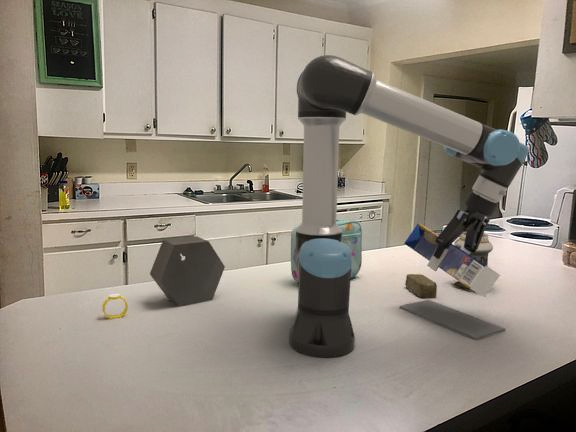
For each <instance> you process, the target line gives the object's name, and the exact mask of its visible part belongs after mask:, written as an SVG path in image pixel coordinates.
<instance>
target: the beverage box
mask: <svg viewBox="0 0 576 432" xmlns="http://www.w3.org/2000/svg"><path fill="white" fill-rule="evenodd" d="M415 225H416V226H415V227H414V228H413V230H412V231H411V232H410V234H409V236H408V237H407V239H405V241H404V242H403V243H404V245H406V246H407V247H409V248H410V249H411V250H413V251H414V252H416V253H417V254H419V255H420V256H421V257H423V258H425V259H426V260H427V261H428V262H429V261H430V259H431V257H432V256H433V254H434V252H435V250H436V249H437V247H438V245H439V244H437V243H436V238H437V237H438V236H439V235H440V234H437V233H436V232H434V231H432V230H431V229H430V228H427V227H426V226H424V225H423V224H421V223H420V222H418V223H416V224H415ZM447 249H448V252H447V254H446V255H445V257H444V259H443V260H442V262H441V263H440V265H439V266H438V267H439V268H438V269H441V270H442V271H443V272H445V273H446V274H448V275H449V276H451V277H452V278H453V279H455V280H456V281H459V282H461V283H462V284H464V285H465V286H467V287H468V288H470V289H471V290H473V291H472V292H474V291H475V292H474V293H477V294H479V295H480V296H481V295H482V296H483V297H486V296H487V295H488V293H489V292H490V290H491V289H492V288H493V286H494V285H495V283H496V282H497V280H498V279H499V278H500V277H501V274H500V273H498V272H497V271H495V270H494V269H492V268H491V267H489V265H488V266H486V265H485V264H483V263H482V262H480V261H478V260H477V259H475V258H474V257H472V256H470V255H469V254H467V253H466V252H464V251H462V250H461V249H459V248H458V247H456V246H455V245H454V244H453V243H452V244H451V245H450V246H449V247H448V248H447Z"/></svg>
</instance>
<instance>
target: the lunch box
mask: <svg viewBox="0 0 576 432" xmlns="http://www.w3.org/2000/svg"><path fill="white" fill-rule="evenodd" d="M336 223H337V225H338V226H339V227H340V228H341V229H342V242H343V243H345V244H346V245H348V246H349V248H350V249H351V253H352V267H351V279H353V278H355V277H356V276H357V275H358V274H359V272H360V270H361V267H362V262H363V261H362V259H363V257H362V253H363V252H362V249H363V248H362V246H363V245H362V238H363V234H362V233H363V230H362V225H361V224H360V222H358V221H356V220H354V219H353V220H345V219H339V218H336ZM299 225H301V223H298V224H296V225H294V227H293V229H292V230H291V234H290V237H291V238H290V271H291V276H292V278H293V280H294V281H295V282H297V283H299V275H298V271H297V267H296V265H295V262H294V250H295V246H296V228H297V227H298V226H299Z"/></svg>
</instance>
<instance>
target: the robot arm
mask: <svg viewBox="0 0 576 432" xmlns="http://www.w3.org/2000/svg"><path fill="white" fill-rule="evenodd" d="M296 83H297V84H296V96H297V119H298V120H299V122H300V123H301V124H302V125H303V155H302V156H303V159H302V161H303V163H302V164H303V165H302V167H303V169H302V205H301V206H302V210H301V211H302V212H301V213H302V214H301V216H302V217H301V223H300V224H301V225H299V226H298V227H297V228H296V246H295V250H294V262H295V265H296V267H297V271H298V275H299V282H298V289H297V290H298V295H297V310H296V314H295V315H294V319H293V322H292V325H291V327H290V329H289V333H288V344H289V345H290V347H291V348H292V349H293V350H295V351H297V352H298V353H300V354H301V353H302V354H304V355H308V356H312V357H317V358H318V357H319V358H331V357H333V358H334V357H340V356H344V355H346V354H349V353H351V352H352V351H353V350H354V349H355V341H356V339H355V338H356V336H355V332H354V328H353V325H352V324H353V323H352V320H351V317H350V313H349V312H350V310H349V309H350V293H351V280H352V278H351V267H352V253H351V249H350V248H349V246H348V245H346V244H345V243H343V242H342V229H341V228H340V227H339V226H338V225H337V223H336V219H337V212H338V206H337V205H338V183H339V182H338V180H339V179H338V177H339V149H340V147H339V146H340V144H339V143H340V126H341V125H342V124H343V123H345V121H346V120H347V113H348V114H351V115H353V116H358V115H361V114H363V115H365V116H368V117H371V118H372V119H375V120H378V121H380V122H383V123H385V124H388V125H391V126H393V127H396V128H398V129H400V130H403V131H405V132H408V133H411V134H413V135H415V136H418V137H421V138H423V139H425V140H428V141H431V142H432V143H435V144H438V145H439V146H440V145H441V146H442V147H443V152H445V154H447V155H449V156H451V157H453V158H455V159H458V160H460V161H462V162H465V163H468V164H470V165H472V166H475V167H477V168H479V169H481V172H480V173H479V175H478V177H477V178H476V180H475V182H474V184H473V186H472V187H471V189H472V191H470V192H469V193H468V195H467V197H466V199H465V200H464V202H463V203H464V205H465V206H466V209H465V210H464V211H463V210H460V209H457V211H456V212H455V214H454V216H453V217H452V218H451V220H450V221H449V222H448V223H447V225H446V226H445V227H444V228H443V230H442V231H441V232H440V233H439V234H438V235H439V236H438V237H437V238H436V243H437V244H439V245H438V247H437V249H436V250H435V252H434V254H433V256H432V257H431V259H430V261H429V260H428V263H427V265H426V266H427V267H428V268H430V270H432V271H434V272H437V271H438V269H440V268H439V267H438V266H439V265H440V263H441V262H442V260H443V259H444V257H445V255H446V254H447V252H448V249H447V248H448V247H449V246H450V245H451V244H453V243H455V241H456V240H457V239H459V237H460V235H461V234H462V233H463V232H466V238H465V243H464V248H463V247H461V248H460V249H461V250H462V251H464V252H466V253H467V254H470V253H471V252H472V253H475V252H476V250H477V249H478V247H479V244H480V241H481V239H482V236H483V234H484V233H485V231H486V228H487V226H488V224H489V222H490V218H489V217H492V216H493V215H494V213H495V212H496V209H497V208H498V207H499V205H498V203H499V202H501V201H502V200H503V197H504V196H507V191H508V189H509V187H510V185H511V184H512V182H513V180H515V177H516V175H517V174H518V172H519V171H520V169H521V167H522V166H523V165H524V163H525V161H526V158H527V156H528V153H529V151H530V149H529V147H528V145H526V144H524V143H522V142H521V141H520V140H519V139H520V138H519V137H518V136H517V135H516V134H515V133H513V132H512V131H509V130H506V129H500V128H499V129H496V128H493V127H491V126H489V125H486V124H484V123H481V122H480V121H476V120H474V119H472V118H470V117H467V116H465V115H463V114H460V113H457V112H456V111H453V110H451V109H448V108H446V107H444V106H440V105H438V104H437V103H434V102H431V101H429V100H426V99H424V98H422V97H419V96H417V95H415V94H412V93H410V92H408V91H405V90H403V89H400V88H398V87H395V86H393V85H391V84H389V83H386V82H384V81H381V80H379V79H377V78H376V76H375V73H374V71H371V70H368V69H366V68H363V67H361V66H359V65H357V64H355V63H354V62H351V61H348V60H347V59H344V58H341V57H339V56H336V55H330V54H325V55H320V56H317V57H315V58H313V59H312V60H310V61H309V62H308V64H306V66H305V67H304V69H303V70H302V72H301V73H300V75H299V76H298V79H297V82H296Z"/></svg>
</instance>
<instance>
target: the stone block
mask: <svg viewBox="0 0 576 432" xmlns="http://www.w3.org/2000/svg"><path fill="white" fill-rule="evenodd" d="M404 284H405V286H406V287H405V288H407V289H408V291H409V292H411V293H413V294H414V295H416V296H417V297H419V298H422V299H423V298H425V299H432V298H436V297H437V293H438V292H437V291H438V290H437V289H438V288H437V287H438V285H437V283H436V282H435V281H433V280H432V279H430V278H428V277H427V276H426V275H423V274H420V273H419V274H418V273H416V274H415V273H414V274H413V273H410V274H409V273H407V274H406V278H405V283H404Z"/></svg>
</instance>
